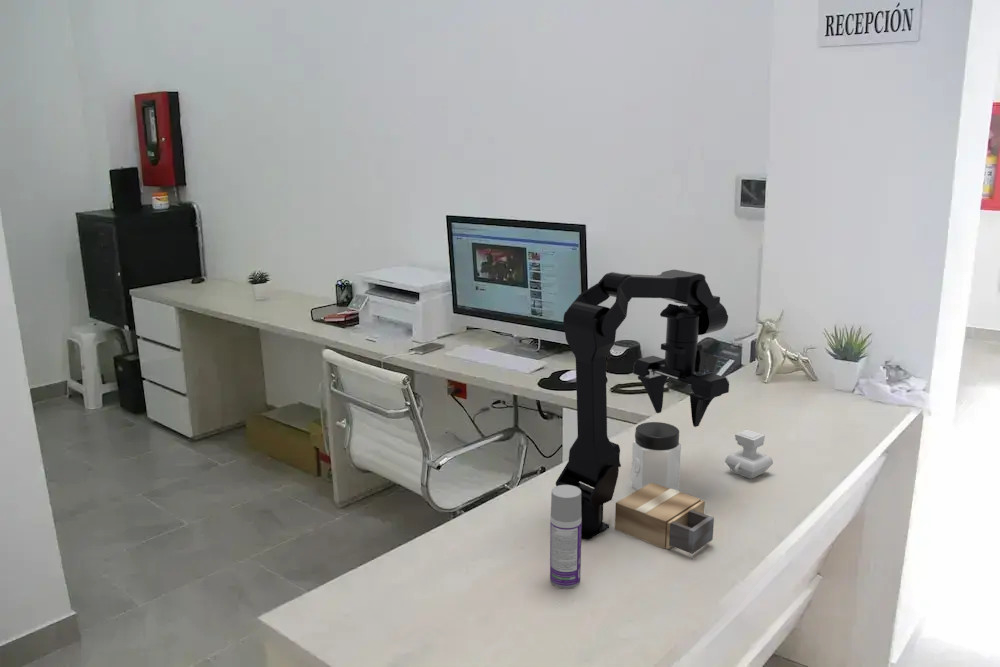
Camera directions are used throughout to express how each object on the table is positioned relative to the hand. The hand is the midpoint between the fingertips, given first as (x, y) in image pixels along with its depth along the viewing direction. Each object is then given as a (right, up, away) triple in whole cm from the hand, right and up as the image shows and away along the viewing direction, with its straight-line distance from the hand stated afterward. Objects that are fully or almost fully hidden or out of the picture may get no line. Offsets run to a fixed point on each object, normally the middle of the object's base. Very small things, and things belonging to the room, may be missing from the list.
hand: (676, 419), depth 157 cm
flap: (0, -18, -17) cm, 25 cm away
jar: (-4, -14, +3) cm, 14 cm away
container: (-23, -22, -28) cm, 43 cm away
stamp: (+16, -12, +9) cm, 22 cm away
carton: (-6, -17, -12) cm, 22 cm away
